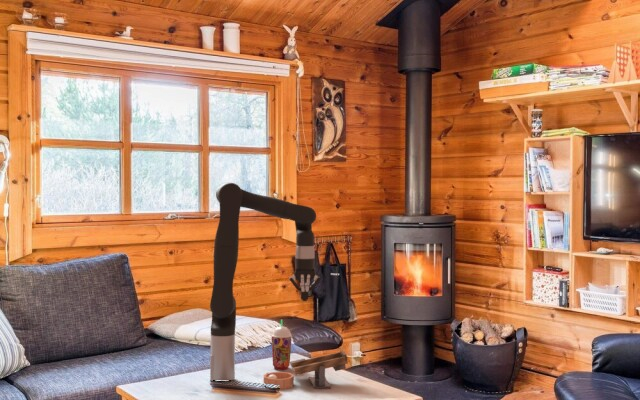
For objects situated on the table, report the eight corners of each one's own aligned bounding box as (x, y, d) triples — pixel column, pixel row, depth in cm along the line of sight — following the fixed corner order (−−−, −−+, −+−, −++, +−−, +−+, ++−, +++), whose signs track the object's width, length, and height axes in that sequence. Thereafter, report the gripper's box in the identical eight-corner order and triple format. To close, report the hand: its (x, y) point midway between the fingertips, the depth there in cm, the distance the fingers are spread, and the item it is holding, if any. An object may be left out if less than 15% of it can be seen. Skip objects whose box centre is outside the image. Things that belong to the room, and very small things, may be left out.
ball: (279, 381, 267) (271, 387, 266) (278, 378, 270) (270, 384, 270) (274, 373, 266) (266, 379, 266) (273, 371, 270) (265, 377, 269)
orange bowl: (264, 389, 262) (264, 379, 262) (262, 381, 273) (262, 372, 273) (294, 388, 264) (294, 379, 264) (291, 380, 275) (291, 371, 275)
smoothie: (282, 372, 288) (282, 322, 288) (266, 368, 293) (267, 319, 293) (295, 368, 294) (296, 319, 294) (280, 365, 300) (280, 317, 299)
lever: (296, 380, 265) (293, 366, 265) (291, 369, 282) (288, 355, 281) (348, 368, 268) (346, 354, 268) (340, 358, 285) (338, 345, 284)
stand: (314, 389, 263) (314, 367, 263) (309, 379, 277) (309, 358, 277) (330, 388, 264) (330, 366, 264) (324, 378, 278) (324, 358, 278)
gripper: (289, 258, 280) (288, 302, 280) (323, 257, 282) (322, 302, 282) (287, 256, 287) (286, 299, 287) (320, 256, 289) (319, 299, 289)
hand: (304, 300), depth 285 cm, fingers closed
